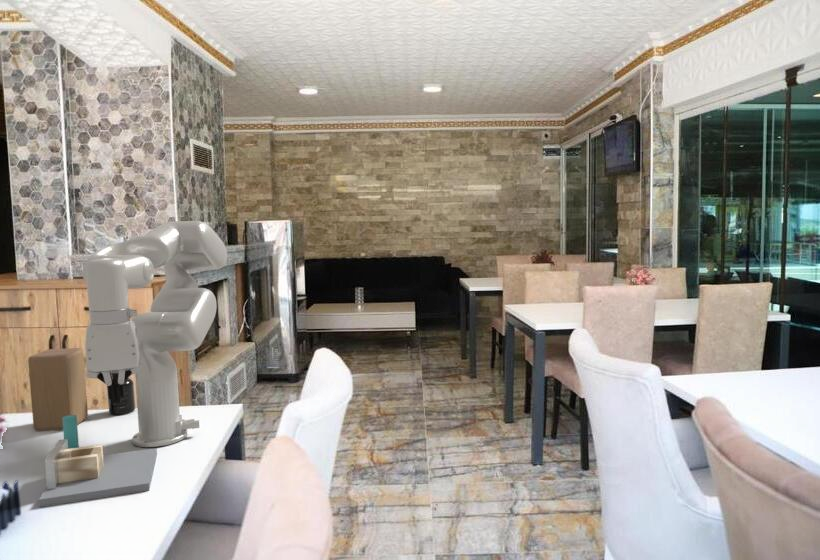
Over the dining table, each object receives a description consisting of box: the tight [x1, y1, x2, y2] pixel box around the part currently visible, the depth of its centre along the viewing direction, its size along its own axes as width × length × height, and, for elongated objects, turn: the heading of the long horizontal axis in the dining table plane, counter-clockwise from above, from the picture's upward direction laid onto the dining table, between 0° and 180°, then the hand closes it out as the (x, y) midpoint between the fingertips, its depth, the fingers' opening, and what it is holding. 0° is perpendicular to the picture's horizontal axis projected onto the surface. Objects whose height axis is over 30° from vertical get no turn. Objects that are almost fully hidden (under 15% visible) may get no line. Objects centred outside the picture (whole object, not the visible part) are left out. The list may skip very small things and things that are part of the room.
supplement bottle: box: [106, 370, 136, 416], centre depth 168 cm, size 7×7×12 cm
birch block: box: [57, 444, 104, 483], centre depth 122 cm, size 7×7×4 cm
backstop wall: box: [44, 438, 68, 490], centre depth 120 cm, size 2×12×6 cm, turn 19°
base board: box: [38, 447, 158, 508], centre depth 123 cm, size 19×20×2 cm
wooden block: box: [27, 347, 89, 431], centre depth 158 cm, size 10×10×20 cm
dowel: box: [62, 415, 80, 449], centre depth 133 cm, size 3×3×10 cm
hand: (117, 401), depth 126 cm, fingers closed
